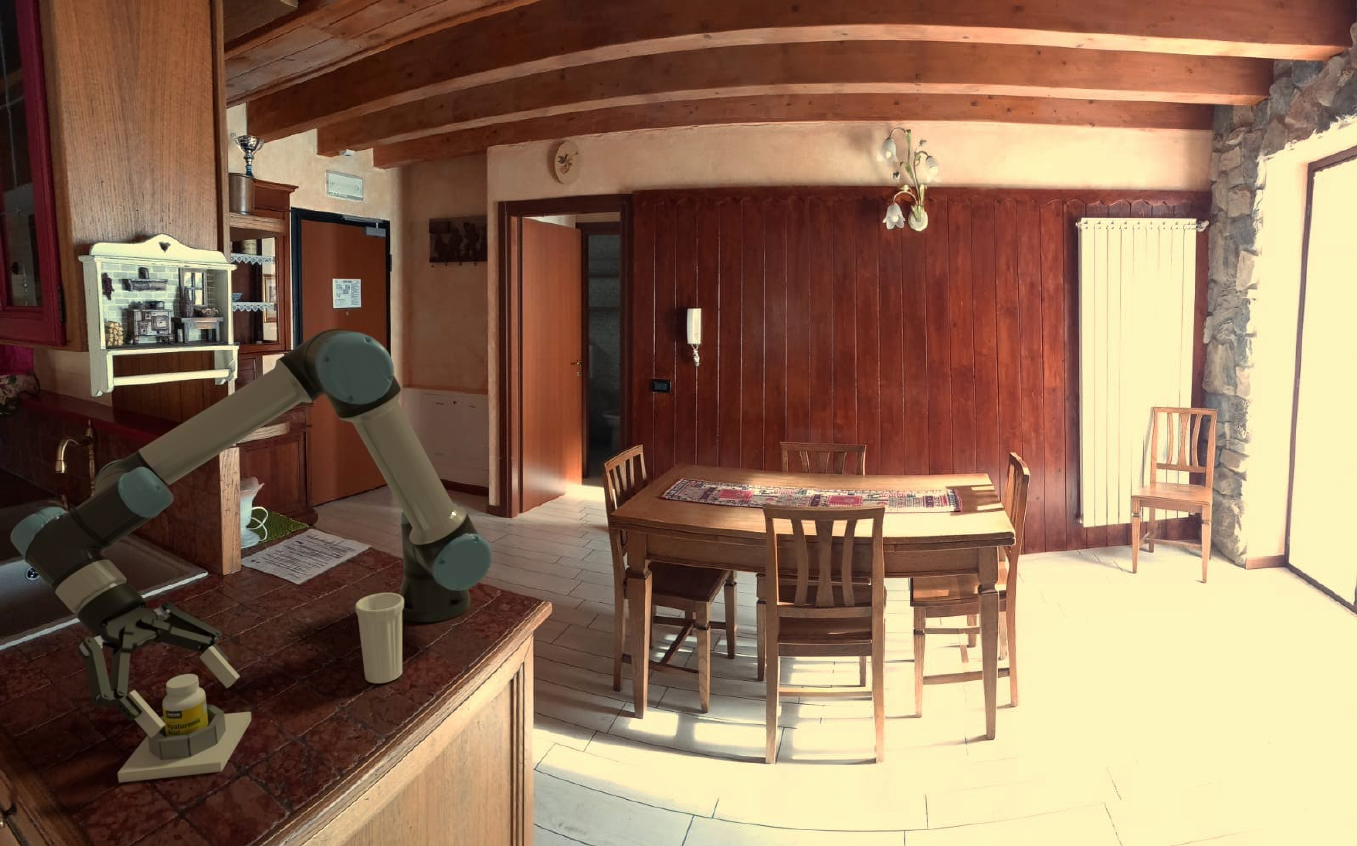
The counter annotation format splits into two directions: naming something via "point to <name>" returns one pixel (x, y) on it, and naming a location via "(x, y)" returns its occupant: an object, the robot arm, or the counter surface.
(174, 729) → the supplement bottle
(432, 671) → the counter surface
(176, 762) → the holder
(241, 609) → the counter surface
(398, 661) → the cup
